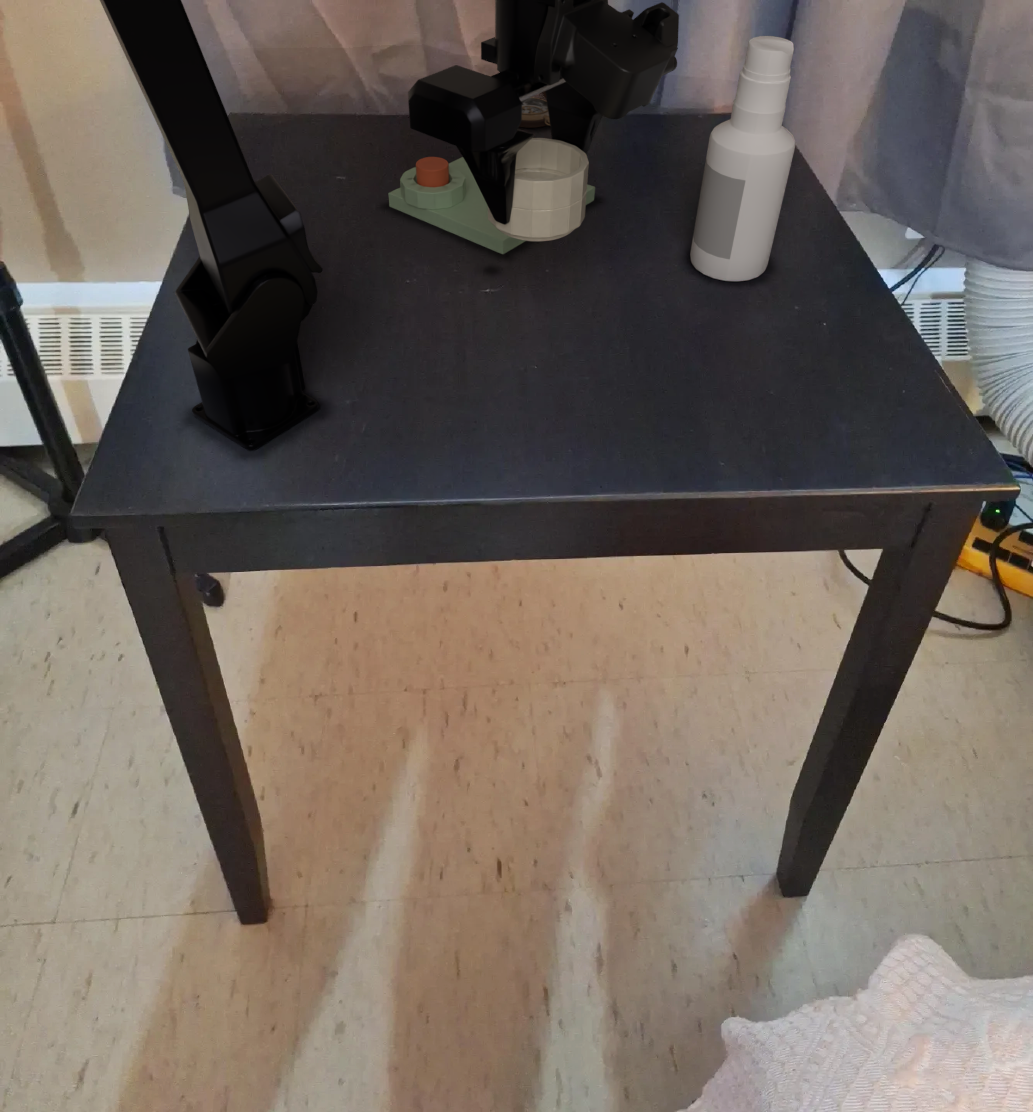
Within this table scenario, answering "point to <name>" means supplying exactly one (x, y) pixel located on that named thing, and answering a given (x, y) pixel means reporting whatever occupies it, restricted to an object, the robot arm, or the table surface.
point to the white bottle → (746, 169)
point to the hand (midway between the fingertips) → (535, 204)
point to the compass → (535, 113)
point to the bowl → (547, 191)
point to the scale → (455, 206)
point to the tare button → (432, 172)
